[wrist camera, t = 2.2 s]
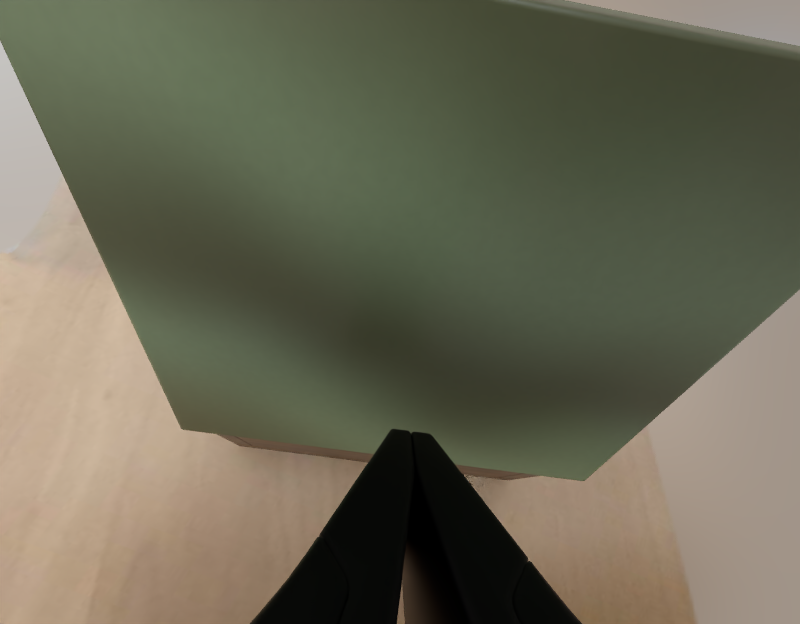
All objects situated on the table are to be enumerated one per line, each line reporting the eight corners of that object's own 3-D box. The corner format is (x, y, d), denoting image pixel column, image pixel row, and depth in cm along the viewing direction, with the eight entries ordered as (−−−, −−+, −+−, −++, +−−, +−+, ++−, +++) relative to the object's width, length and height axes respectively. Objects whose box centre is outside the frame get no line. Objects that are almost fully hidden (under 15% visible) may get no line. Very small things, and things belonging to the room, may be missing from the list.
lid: (-21, -115, 5) (-78, -118, 5) (965, 78, 6) (1022, 95, 5) (190, 409, 14) (180, 430, 13) (578, 460, 15) (584, 482, 14)
